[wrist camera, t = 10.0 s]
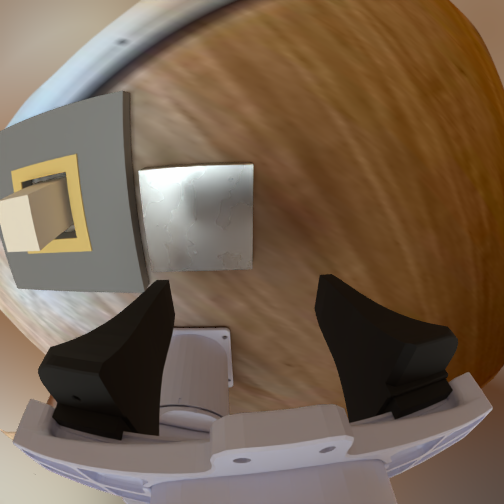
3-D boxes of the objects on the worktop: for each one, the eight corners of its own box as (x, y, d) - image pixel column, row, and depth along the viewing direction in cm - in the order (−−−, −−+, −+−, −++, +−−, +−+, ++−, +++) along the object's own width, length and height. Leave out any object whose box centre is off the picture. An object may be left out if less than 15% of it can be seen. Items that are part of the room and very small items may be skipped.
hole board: (149, 283, 23) (144, 293, 21) (24, 281, 21) (17, 289, 20) (129, 93, 16) (121, 90, 14) (-5, 136, 15) (-16, 138, 13)
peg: (77, 220, 20) (40, 250, 14) (45, 223, 19) (7, 252, 14) (70, 175, 18) (27, 194, 12) (38, 182, 18) (-5, 202, 12)
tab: (250, 260, 22) (252, 269, 21) (156, 263, 22) (151, 271, 21) (251, 162, 19) (253, 164, 18) (144, 167, 18) (138, 170, 17)
